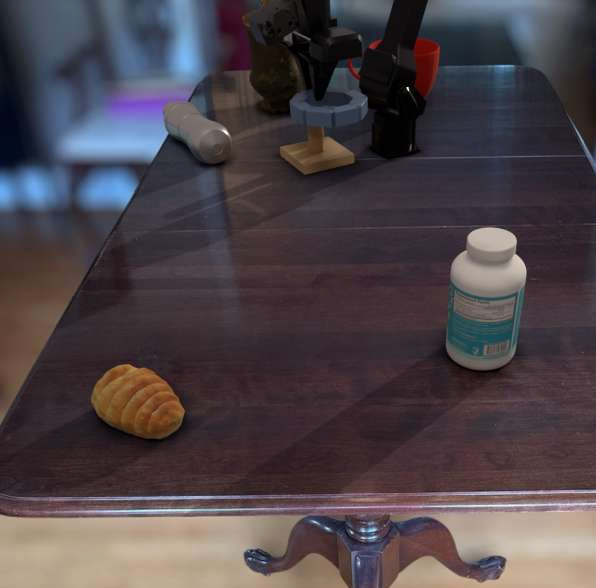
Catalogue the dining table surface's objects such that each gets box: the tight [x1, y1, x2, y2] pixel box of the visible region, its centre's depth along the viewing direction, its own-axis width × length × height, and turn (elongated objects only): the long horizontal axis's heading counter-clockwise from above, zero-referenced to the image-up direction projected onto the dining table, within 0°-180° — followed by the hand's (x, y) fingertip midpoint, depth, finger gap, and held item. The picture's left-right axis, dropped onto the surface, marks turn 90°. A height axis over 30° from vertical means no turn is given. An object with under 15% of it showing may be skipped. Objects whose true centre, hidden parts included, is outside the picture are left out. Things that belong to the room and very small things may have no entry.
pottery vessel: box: [241, 0, 306, 114], centre depth 130 cm, size 25×11×20 cm, turn 175°
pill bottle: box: [445, 227, 527, 371], centre depth 72 cm, size 8×7×14 cm
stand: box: [279, 125, 355, 176], centre depth 114 cm, size 9×9×8 cm
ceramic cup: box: [347, 37, 441, 100], centre depth 134 cm, size 13×17×10 cm
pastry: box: [90, 363, 186, 440], centre depth 68 cm, size 9×7×4 cm
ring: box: [289, 86, 369, 129], centre depth 101 cm, size 10×10×2 cm
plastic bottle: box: [162, 100, 233, 165], centre depth 118 cm, size 6×7×20 cm
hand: (315, 98), depth 103 cm, fingers closed on ring, 2 cm apart
